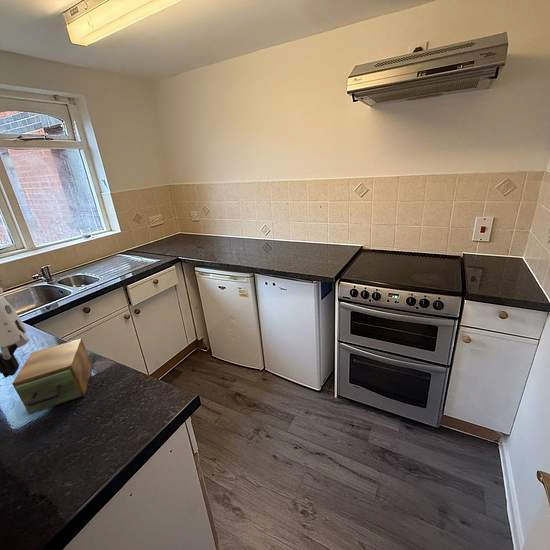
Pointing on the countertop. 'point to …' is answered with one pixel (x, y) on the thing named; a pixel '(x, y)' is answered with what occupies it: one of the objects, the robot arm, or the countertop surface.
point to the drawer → (48, 391)
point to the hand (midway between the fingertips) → (12, 372)
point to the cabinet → (58, 364)
